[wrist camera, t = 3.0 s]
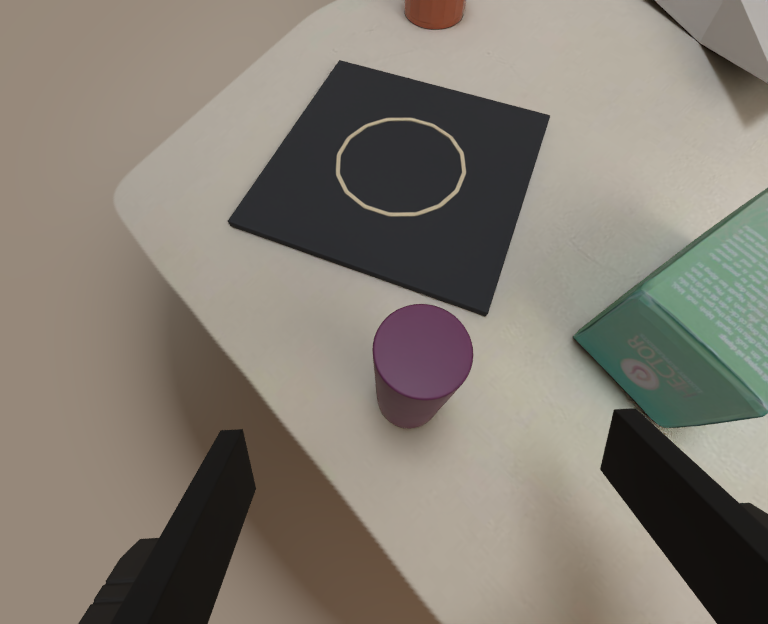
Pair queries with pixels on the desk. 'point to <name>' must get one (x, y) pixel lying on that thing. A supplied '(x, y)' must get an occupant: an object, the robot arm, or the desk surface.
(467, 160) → the felt pad
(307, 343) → the desk surface
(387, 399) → the cylinder
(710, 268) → the box
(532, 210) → the desk surface
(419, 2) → the pen pot
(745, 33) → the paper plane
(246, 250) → the desk surface
